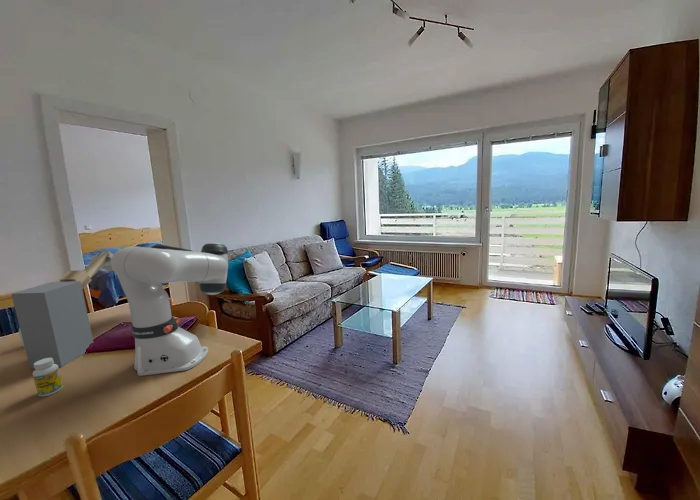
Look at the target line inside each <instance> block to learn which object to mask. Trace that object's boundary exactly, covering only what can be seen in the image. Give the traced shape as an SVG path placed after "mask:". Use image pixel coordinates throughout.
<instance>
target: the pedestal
mask: <svg viewBox="0 0 700 500" xmlns="http://www.w3.org/2000/svg"><path fill="white" fill-rule="evenodd" d="M11 298H12V302H13V306H14V309H15V314H16V318H17V321H18V326H19V328H20V330H21V334H22V338H23V342H24V346H25V347H24V348H25V349H24V350H25V353H26V354H25V355H26V358H27V362H28V365H29V368H30V369H31V368H33V369H35V368H34V363H35V362H37V361H39V360H42V359H45V358H53V361H54V363H53V364H57V365H58V367H59V368H63V367H64V366H66V365H67V364H69V363H71V362H73V361H74V360H76V359H77V358H79V357H81V356H83V355H84V354H86V353H87V352H86V349H87V348H88V347H89V345H90V344H91V343H94V339H93V335H92V334H93V333H92V330H91V325H90V321H89V316H88V309H87V305H86V299H85V295H84V291H83V289H82V285H81V281H69V282H61V281H50V282H47V283H43V284H40V285H36V286H33V287H29V288H25V289H23V290H22V289H21V290H19V291H16V292H12V293H11ZM85 352H86V353H85Z"/></svg>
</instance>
